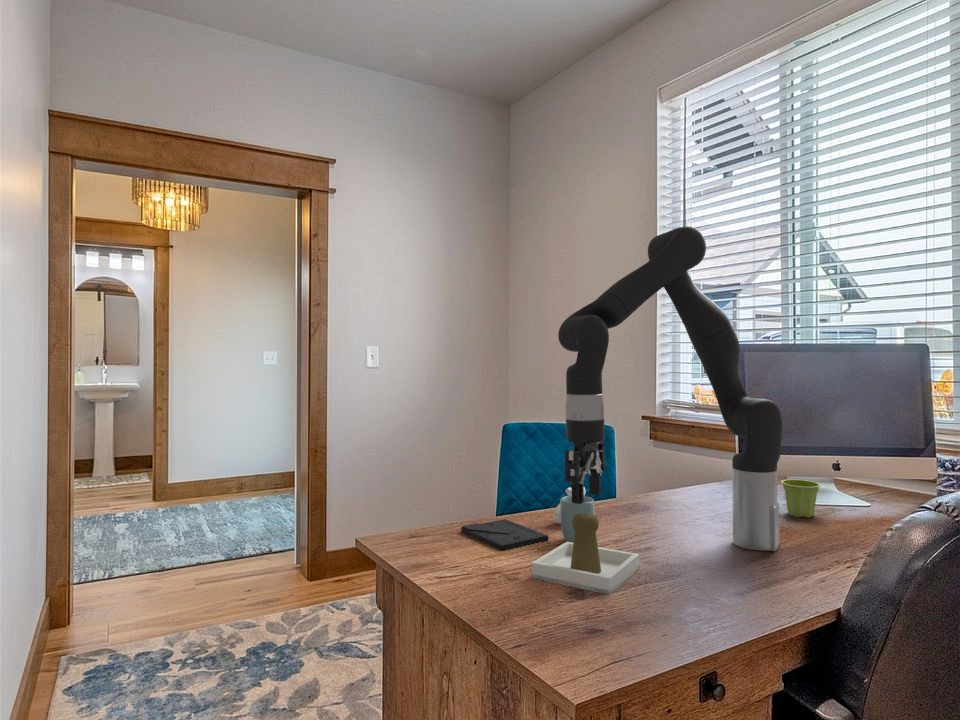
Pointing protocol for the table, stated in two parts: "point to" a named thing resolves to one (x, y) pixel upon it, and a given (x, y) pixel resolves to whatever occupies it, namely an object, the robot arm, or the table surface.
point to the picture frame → (503, 534)
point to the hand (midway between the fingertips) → (586, 498)
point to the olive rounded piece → (585, 543)
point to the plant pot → (800, 497)
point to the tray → (607, 581)
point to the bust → (557, 512)
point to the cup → (573, 514)
